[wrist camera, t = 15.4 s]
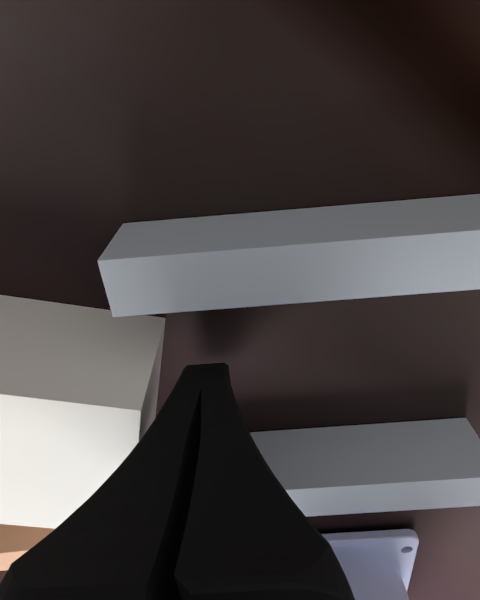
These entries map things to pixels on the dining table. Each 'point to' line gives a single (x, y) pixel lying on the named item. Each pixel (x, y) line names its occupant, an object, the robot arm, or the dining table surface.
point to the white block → (70, 402)
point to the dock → (313, 288)
